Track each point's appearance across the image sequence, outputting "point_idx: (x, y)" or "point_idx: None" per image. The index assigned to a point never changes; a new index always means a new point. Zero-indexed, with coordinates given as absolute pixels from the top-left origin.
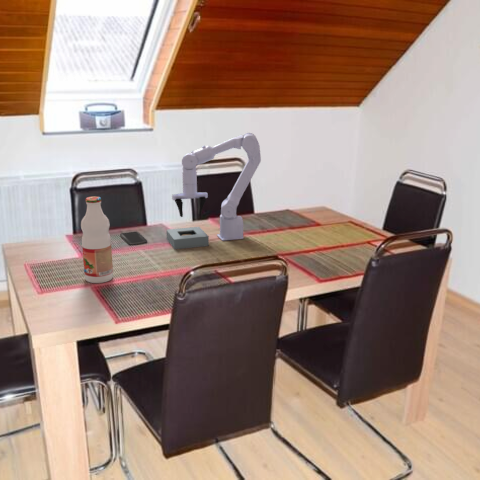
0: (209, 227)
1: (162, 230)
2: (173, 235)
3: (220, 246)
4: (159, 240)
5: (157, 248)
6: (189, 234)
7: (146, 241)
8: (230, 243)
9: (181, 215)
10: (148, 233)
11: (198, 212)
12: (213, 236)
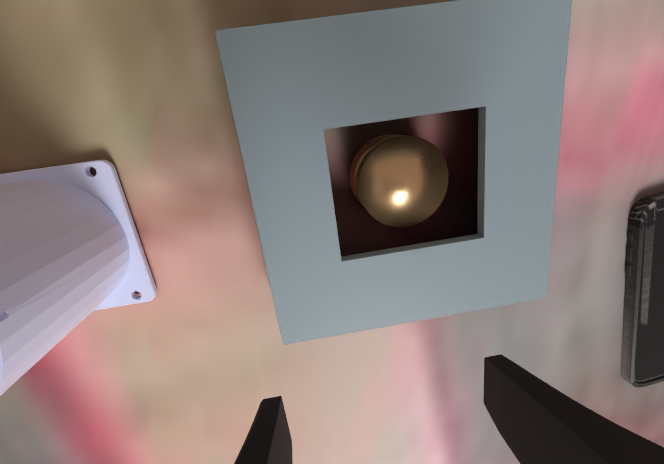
0: (205, 450)
1: (486, 413)
2: (539, 128)
3: (129, 14)
4: None
5: (612, 68)
6: (378, 209)
7: (648, 203)
8: (37, 85)
9: (511, 364)
10: (570, 371)
11: (285, 447)
12: (185, 280)
